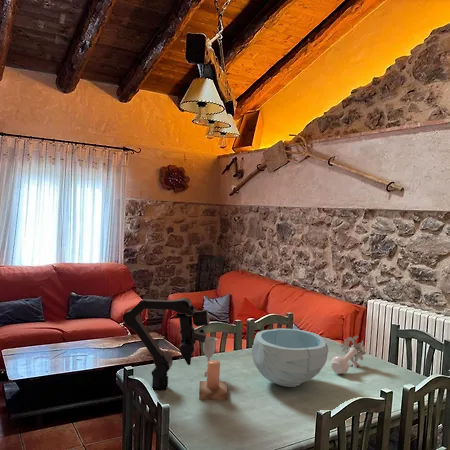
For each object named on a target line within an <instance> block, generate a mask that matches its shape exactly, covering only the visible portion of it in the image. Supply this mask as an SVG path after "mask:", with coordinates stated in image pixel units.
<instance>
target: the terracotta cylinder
mask: <svg viewBox="0 0 450 450" xmlns="http://www.w3.org/2000/svg"><path fill="white" fill-rule="evenodd" d="M207 364H208V367H207V366H206V367H207V368H206V369H207V377H206V381H207V388H208V389H218V388H219V382H220V375H221V361H219V360H217V359H216V360H215V359H210V361H208V363H207Z"/></svg>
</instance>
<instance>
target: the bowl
mask: <svg viewBox="0 0 450 450" xmlns="http://www.w3.org/2000/svg"><path fill="white" fill-rule="evenodd" d="M251 347H252V348H251V356H252V361H253V363H254V365H255V367H256V369H257V370H258V372H259V373H260V375H262V376H263V377H264V378H265V379H266V380H267V381H269V382H271V383H273V384H276V385H279V386H281V387H286V388H296V387H297V386H300V385H301V384H302V383H305V382H308V381H311V380H312V379H313V378H315V377H316V376H317V375H319V374H320V372H321V370H322V369H323V367H325V366H326V363H327V360H328V356H329V355H328V354H329V346H328V344H327V342H326V340H325V338H323V336H321V335H319V334H318V333H315V332H311V331H308V330H302V329H296V328H285V327H284V328H274V329H263V330H261V331H258V332H257V333H256V334H255V337H254V339H253V344H252V345H251Z"/></svg>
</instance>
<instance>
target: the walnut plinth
mask: <svg viewBox="0 0 450 450" xmlns="http://www.w3.org/2000/svg"><path fill="white" fill-rule="evenodd" d="M198 389H199V391H198V400H213V401H214V400H217V401H218V400H219V401H220V400H221V401H225V400H226V401H227V400H228V388H227V382H226V381H219V388H218V389H208V388H207V380H200V381H199V387H198Z"/></svg>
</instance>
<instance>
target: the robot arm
mask: <svg viewBox="0 0 450 450" xmlns="http://www.w3.org/2000/svg"><path fill="white" fill-rule="evenodd" d="M146 309H147V310H165V311H166V310H168V311H169V310H170V311H173V312H176V314H175V316H174V317H173V318H174V319H178V320H179V328H180V330H179V334H180V343H181V344H180V345H179V353H180V354H181V355H182V357H183V358H184V359H183V360H184V361H185V363H186V364H187V366H190V365H191V362H192V361H191V360H192V356H193V353H194V352H195V345H196V342H197V341H198V342H201V343H202V344H203V343H204V342H205V339H206V337H207V336H208V335H207V332H205V329H203V328H200V329H199V330H195V327H194V326H196V327H204V326H205V327H206V326H207V327H208V326H210V315H209V312H208V309H203V310H197V308H196V307H195V306H194V305H193V303H192V300H191V299H190V298H188V297H180V298H176V299H150V298H149V299H148V298H143V299H141V300H140V301H139V302H138V303H137V304H136V305H135V306H134V307H133V308H131V309H129V310H127V311H126V312H125V313H124V314H123V315H122V322H123V323H124V324H125V326H127V327H128V328H129V329H131V330H133V331H134V332H135V334H136V335H137V336H138V339H140V341H141V342H142V343H143V345H144V347H145V348H146V349H147V351H148V352H149V354H150V355H151V356H152V360H153V364H154V368H153V370H152V371H151V377H152V381H151V382H152V385H151V389H152V388H153V390H152V391H166V390H167V388H168V386H169V376H168V372H169V370H170V369H171V368H172V366H173V362H174V361H173V357H172V356H171V355H170V353H169V351H168V350H166V351H164V350H162V349H161V348H160V347H159V345H158V344H157V342H156V341H155V339H154V338H153V337H152V335H151V333H150V332H149V330H148V329H147V328H146V327H145V326H144V324H143V323H144V322H143V319H142V316H141V314H142V313H143V312H144V311H145V310H146Z"/></svg>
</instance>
